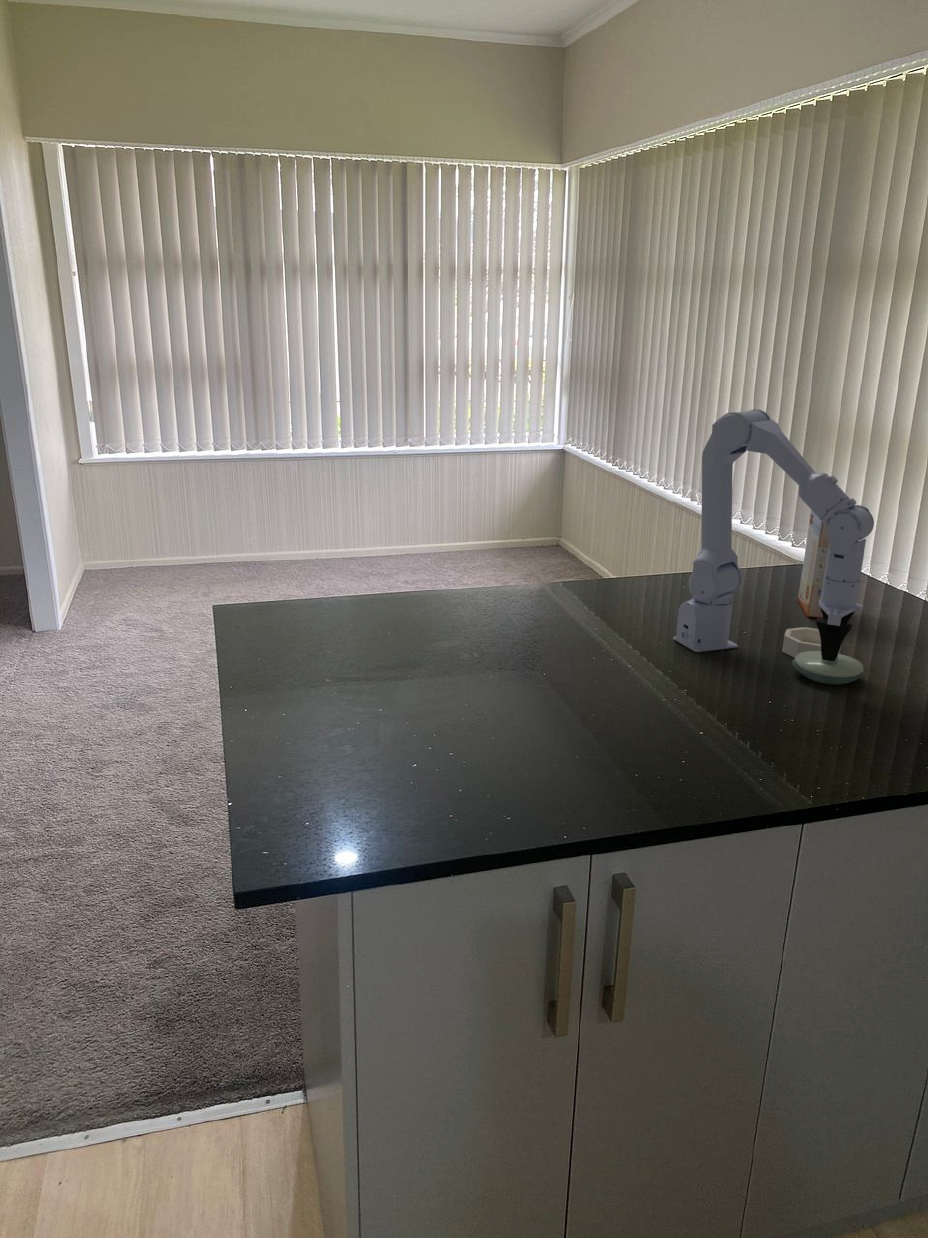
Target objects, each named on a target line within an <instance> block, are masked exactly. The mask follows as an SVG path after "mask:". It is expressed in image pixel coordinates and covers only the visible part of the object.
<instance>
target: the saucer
mask: <svg viewBox="0 0 928 1238" xmlns="http://www.w3.org/2000/svg"><path fill="white" fill-rule="evenodd" d="M792 664H793V666H794V668H795V669H796V670H797V671H798V672H799V673H800V674H801V675H803V677H805V678H807V679H809V680H810V681H813V682H816V683H819V684H822V685H823V684H824V685H829V686H830V685H831V686H839V685H840V686H841V685H845V684H849V683H852V682H854V681H856V680H858V679H859V678H861V677H863V676H864V675H865V671H864V669H863V672H862V674H861V675H859V676H857V677H853V678H831V677H824V676H819V675H815V674H812V673H809V672H806V671H804V670H802V669H800V668H799V667H798V666H797V665H796V664H795V658H793V659H792Z"/></svg>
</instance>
